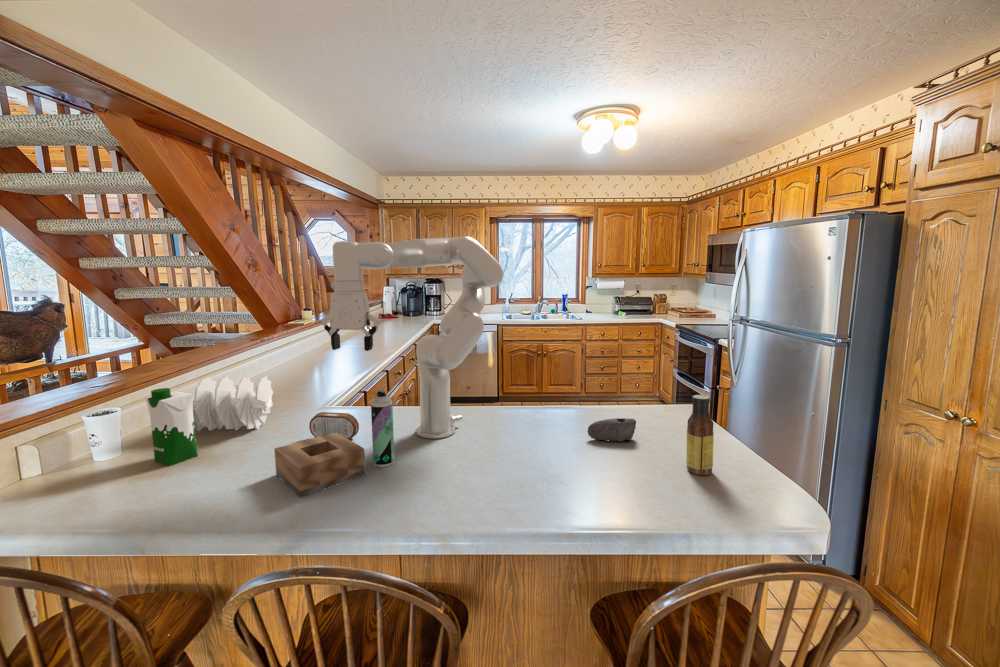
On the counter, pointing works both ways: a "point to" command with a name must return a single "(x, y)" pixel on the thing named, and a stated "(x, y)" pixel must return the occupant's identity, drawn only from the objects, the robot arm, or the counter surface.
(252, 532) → the counter surface
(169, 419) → the milk carton
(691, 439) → the sauce bottle
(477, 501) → the counter surface
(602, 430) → the perforated stone tool
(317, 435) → the tin
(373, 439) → the spray can
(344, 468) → the socket block
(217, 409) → the spiral staircase
